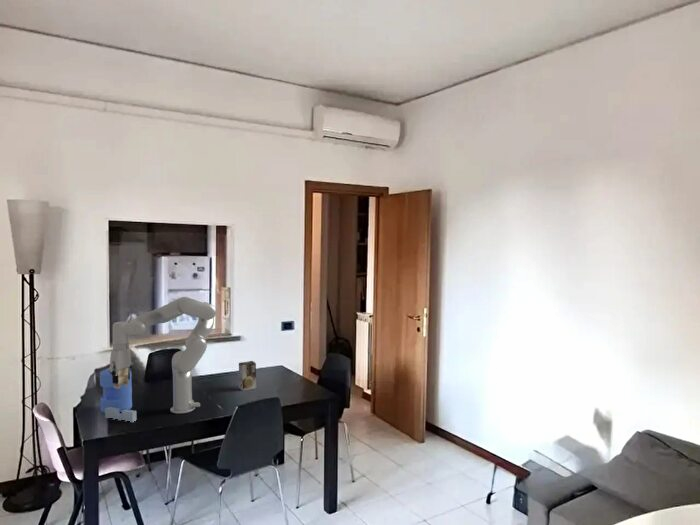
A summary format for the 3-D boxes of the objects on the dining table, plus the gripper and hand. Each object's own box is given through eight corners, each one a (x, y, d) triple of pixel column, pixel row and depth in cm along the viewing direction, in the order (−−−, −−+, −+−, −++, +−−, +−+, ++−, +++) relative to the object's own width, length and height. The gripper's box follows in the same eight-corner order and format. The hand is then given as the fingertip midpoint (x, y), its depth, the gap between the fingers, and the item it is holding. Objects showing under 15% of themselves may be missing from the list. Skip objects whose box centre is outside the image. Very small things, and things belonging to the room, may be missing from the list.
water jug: (120, 403, 284) (119, 353, 283) (138, 407, 276) (137, 356, 275) (94, 411, 271) (92, 359, 270) (112, 416, 263) (111, 362, 262)
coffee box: (252, 386, 317) (252, 360, 316) (256, 388, 311) (256, 362, 311) (238, 388, 312) (238, 362, 311) (242, 391, 306) (242, 364, 306)
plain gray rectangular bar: (136, 420, 256) (136, 410, 256) (132, 422, 254) (132, 412, 254) (109, 416, 263) (109, 406, 262) (105, 418, 260) (104, 408, 260)
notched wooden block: (124, 384, 260) (124, 367, 260) (128, 385, 259) (128, 367, 259) (114, 388, 254) (113, 370, 253) (118, 388, 253) (118, 370, 253)
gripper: (127, 342, 265) (127, 376, 266) (101, 349, 249) (101, 385, 249) (139, 343, 263) (139, 377, 264) (113, 350, 246) (114, 386, 247)
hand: (121, 381), depth 256 cm, fingers closed on notched wooden block, 7 cm apart
